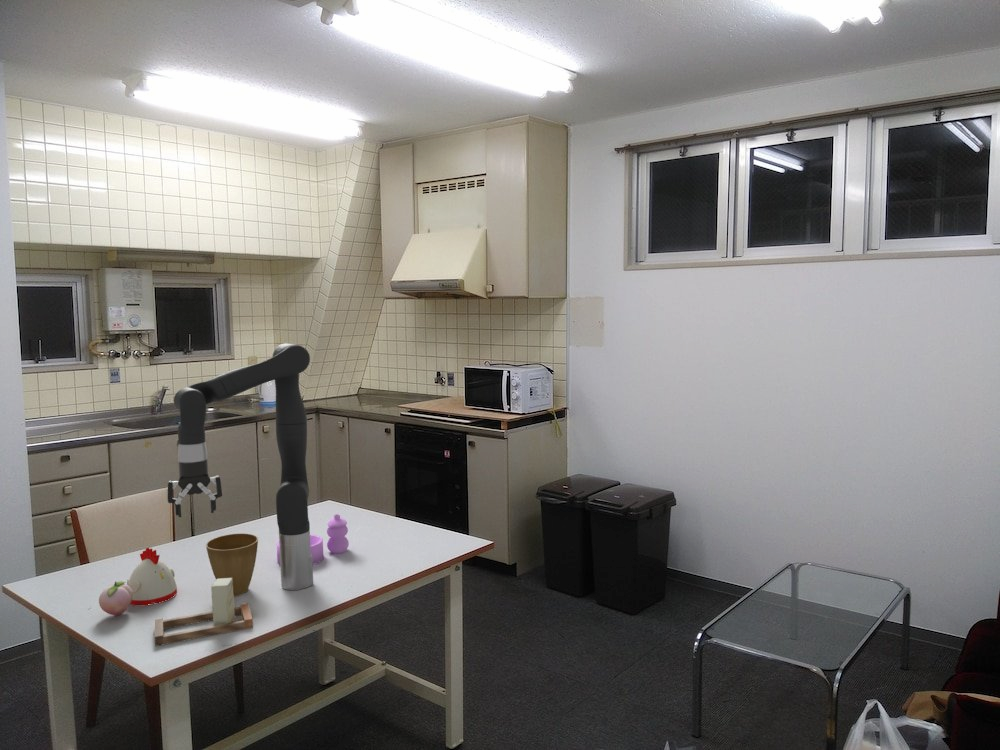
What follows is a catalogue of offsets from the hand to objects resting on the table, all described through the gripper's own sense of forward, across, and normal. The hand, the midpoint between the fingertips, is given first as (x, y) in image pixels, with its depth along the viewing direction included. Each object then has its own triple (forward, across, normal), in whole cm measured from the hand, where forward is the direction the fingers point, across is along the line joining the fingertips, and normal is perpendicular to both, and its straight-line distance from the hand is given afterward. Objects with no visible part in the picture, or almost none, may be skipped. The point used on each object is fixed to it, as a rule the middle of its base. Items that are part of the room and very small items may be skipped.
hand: (196, 514), depth 208 cm
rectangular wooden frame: (+28, 0, +14) cm, 31 cm away
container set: (+28, -38, -30) cm, 56 cm away
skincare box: (+28, -5, +14) cm, 32 cm away
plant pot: (+28, -10, -9) cm, 31 cm away
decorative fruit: (+28, +22, -6) cm, 36 cm away
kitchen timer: (+28, +13, -17) cm, 36 cm away
